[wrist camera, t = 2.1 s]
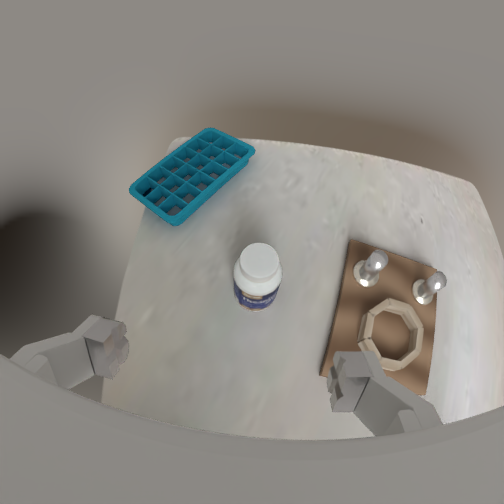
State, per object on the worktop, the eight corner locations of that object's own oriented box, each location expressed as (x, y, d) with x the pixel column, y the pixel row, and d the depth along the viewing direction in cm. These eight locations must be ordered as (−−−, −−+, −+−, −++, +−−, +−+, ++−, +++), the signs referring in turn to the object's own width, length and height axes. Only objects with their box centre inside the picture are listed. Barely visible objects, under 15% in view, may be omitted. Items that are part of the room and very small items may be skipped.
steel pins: (431, 307, 35) (450, 295, 30) (350, 282, 36) (364, 266, 32) (432, 284, 37) (450, 270, 32) (354, 258, 38) (367, 240, 34)
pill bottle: (238, 316, 35) (238, 289, 26) (230, 278, 37) (228, 241, 29) (280, 308, 36) (292, 278, 27) (270, 271, 38) (278, 232, 30)
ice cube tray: (257, 161, 49) (258, 149, 46) (176, 236, 41) (172, 225, 38) (210, 137, 52) (209, 125, 49) (130, 200, 44) (125, 189, 41)
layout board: (420, 395, 30) (433, 393, 27) (319, 375, 32) (326, 373, 29) (433, 272, 39) (443, 263, 36) (348, 243, 41) (355, 231, 38)
